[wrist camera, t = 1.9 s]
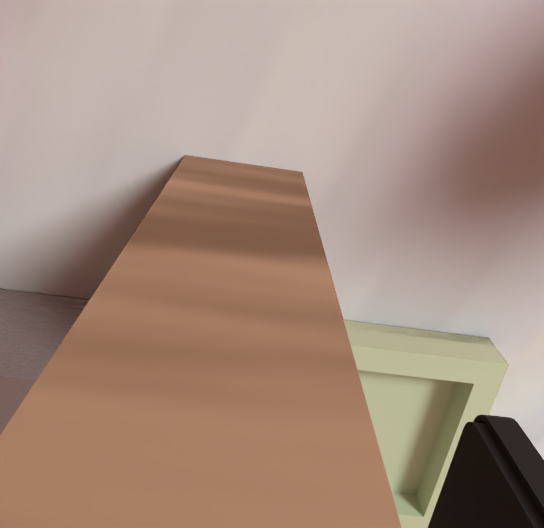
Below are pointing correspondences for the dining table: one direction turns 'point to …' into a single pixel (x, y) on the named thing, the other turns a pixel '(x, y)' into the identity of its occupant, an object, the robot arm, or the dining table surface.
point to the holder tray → (422, 403)
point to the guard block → (29, 341)
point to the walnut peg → (204, 378)
